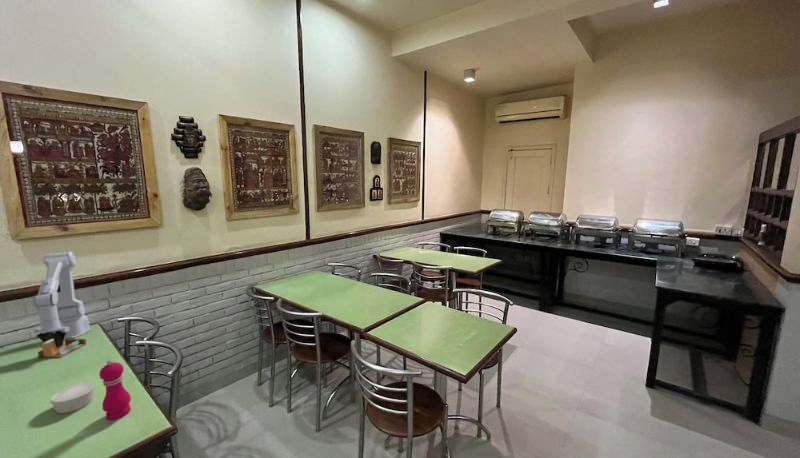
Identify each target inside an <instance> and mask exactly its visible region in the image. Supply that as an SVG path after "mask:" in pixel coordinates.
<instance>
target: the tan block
mask: <svg viewBox="0 0 800 458" xmlns="http://www.w3.org/2000/svg"><path fill="white" fill-rule="evenodd" d="M65 346H66V345H65V340H64V341H63V345H62V346H60V347H56V344H55V341H54V339H51V340H49V341H46V342H44V343H43V342H42V343H41V349H42V350H43V354H44V356H54V355H56V354H58V350H59V349H61V348H63V347H65Z"/></svg>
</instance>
